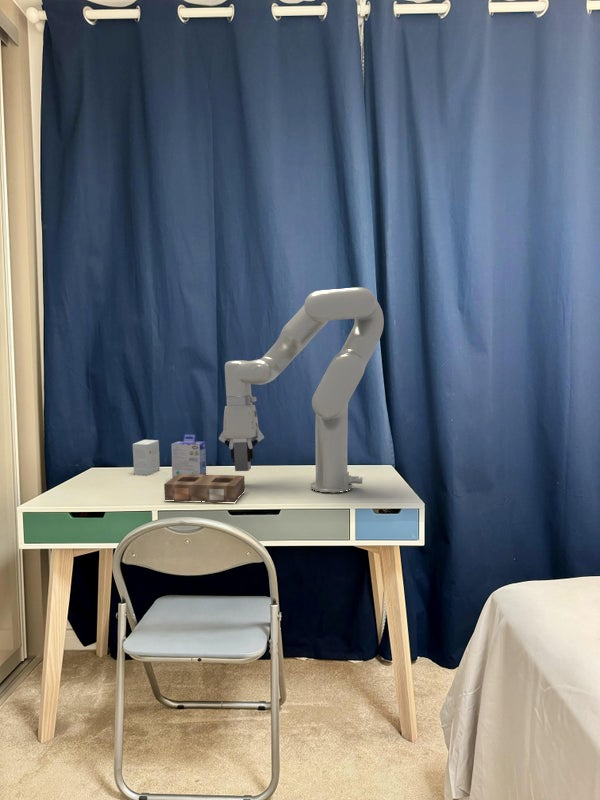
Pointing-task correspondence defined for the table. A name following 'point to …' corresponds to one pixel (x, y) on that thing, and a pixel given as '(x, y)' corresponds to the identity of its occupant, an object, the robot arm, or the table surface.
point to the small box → (146, 457)
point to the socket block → (204, 488)
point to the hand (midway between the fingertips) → (242, 460)
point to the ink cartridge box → (188, 457)
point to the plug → (241, 454)
